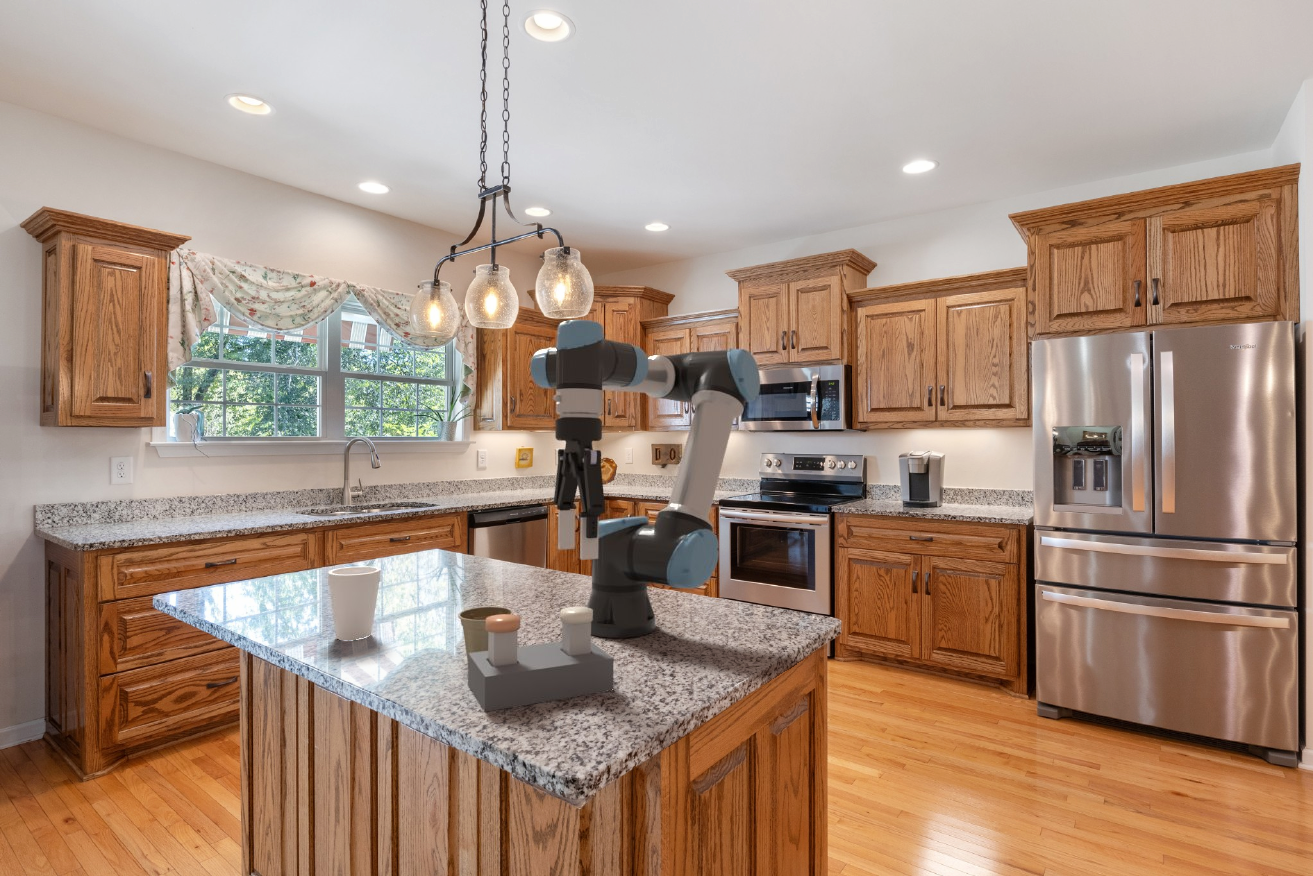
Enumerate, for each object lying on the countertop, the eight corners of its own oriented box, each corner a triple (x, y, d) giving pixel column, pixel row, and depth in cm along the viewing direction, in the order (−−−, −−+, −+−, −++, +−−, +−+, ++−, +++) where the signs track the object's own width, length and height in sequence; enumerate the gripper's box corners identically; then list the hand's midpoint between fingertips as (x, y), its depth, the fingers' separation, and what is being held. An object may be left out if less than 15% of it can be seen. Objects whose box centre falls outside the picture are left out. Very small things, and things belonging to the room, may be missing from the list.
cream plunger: (585, 646, 113) (586, 605, 113) (597, 655, 108) (597, 612, 108) (555, 650, 110) (556, 608, 110) (566, 660, 106) (566, 616, 106)
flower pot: (484, 674, 112) (485, 622, 112) (445, 664, 117) (446, 614, 117) (523, 659, 120) (524, 611, 120) (486, 650, 125) (486, 603, 125)
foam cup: (338, 630, 137) (339, 566, 137) (385, 629, 138) (386, 566, 138) (319, 644, 128) (320, 575, 128) (369, 643, 128) (370, 575, 128)
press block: (585, 667, 116) (586, 638, 116) (613, 690, 106) (613, 658, 106) (467, 684, 107) (468, 653, 107) (484, 711, 97) (485, 676, 97)
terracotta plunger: (514, 656, 107) (515, 612, 107) (523, 666, 103) (524, 620, 103) (481, 660, 105) (482, 616, 105) (489, 671, 100) (490, 624, 100)
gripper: (536, 418, 118) (534, 545, 118) (581, 413, 98) (579, 567, 97) (576, 419, 121) (575, 542, 121) (628, 415, 101) (626, 563, 101)
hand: (577, 553), depth 109 cm, fingers open, 10 cm apart
